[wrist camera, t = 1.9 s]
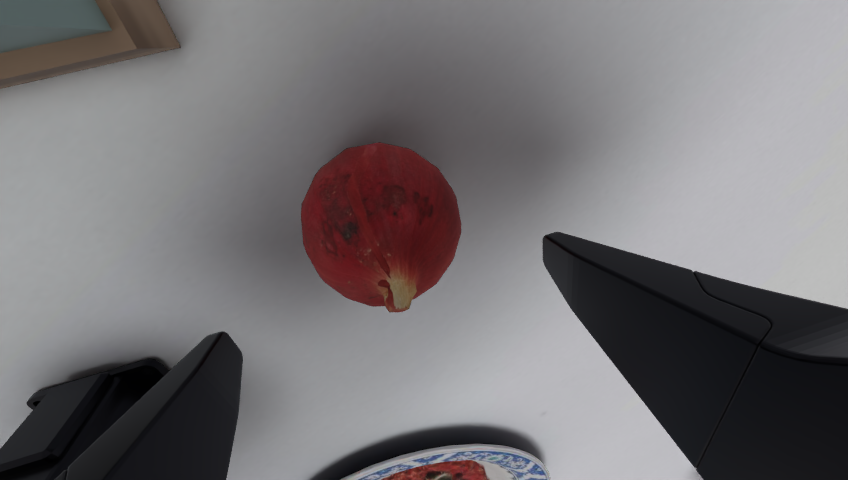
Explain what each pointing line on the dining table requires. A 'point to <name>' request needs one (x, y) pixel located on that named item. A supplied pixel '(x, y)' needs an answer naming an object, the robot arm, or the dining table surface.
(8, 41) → the top block
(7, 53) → the bottom block
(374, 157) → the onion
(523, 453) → the ceramic plate
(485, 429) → the dining table surface
